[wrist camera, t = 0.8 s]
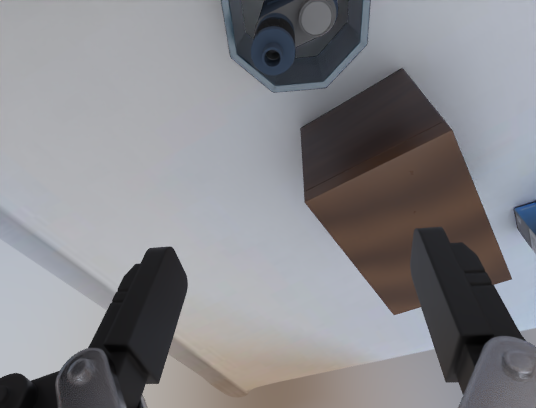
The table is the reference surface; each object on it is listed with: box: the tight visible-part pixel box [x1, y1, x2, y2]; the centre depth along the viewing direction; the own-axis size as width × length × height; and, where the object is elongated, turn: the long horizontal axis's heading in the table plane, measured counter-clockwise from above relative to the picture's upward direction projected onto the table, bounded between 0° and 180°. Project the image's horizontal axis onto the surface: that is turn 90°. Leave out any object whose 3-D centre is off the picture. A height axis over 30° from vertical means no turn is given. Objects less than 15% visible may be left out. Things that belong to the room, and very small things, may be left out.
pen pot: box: [221, 0, 371, 93], centre depth 24 cm, size 9×9×6 cm
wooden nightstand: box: [300, 68, 512, 315], centre depth 30 cm, size 16×10×11 cm, turn 35°
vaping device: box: [251, 0, 338, 75], centre depth 21 cm, size 3×5×12 cm, turn 114°
